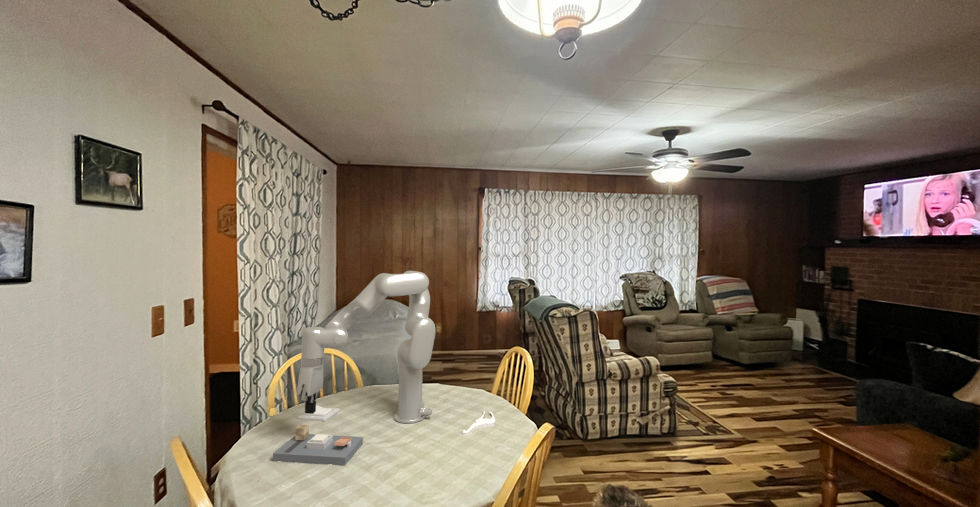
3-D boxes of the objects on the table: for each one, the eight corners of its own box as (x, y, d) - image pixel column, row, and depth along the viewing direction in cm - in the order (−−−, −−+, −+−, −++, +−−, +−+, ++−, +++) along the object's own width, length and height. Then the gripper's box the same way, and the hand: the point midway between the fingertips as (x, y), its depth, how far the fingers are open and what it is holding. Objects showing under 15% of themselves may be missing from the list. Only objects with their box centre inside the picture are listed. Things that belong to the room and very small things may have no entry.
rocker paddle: (351, 442, 134) (351, 436, 135) (343, 447, 129) (344, 441, 129) (342, 442, 135) (342, 436, 135) (334, 446, 129) (334, 440, 129)
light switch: (312, 401, 169) (339, 402, 167) (313, 411, 169) (340, 412, 167) (295, 411, 159) (324, 412, 156) (296, 422, 159) (324, 423, 156)
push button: (328, 441, 134) (328, 434, 134) (322, 447, 130) (322, 440, 130) (317, 441, 135) (317, 434, 135) (311, 446, 131) (311, 439, 131)
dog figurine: (465, 410, 166) (458, 431, 146) (496, 411, 166) (493, 433, 146) (465, 414, 166) (458, 436, 146) (496, 415, 166) (493, 438, 146)
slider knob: (308, 436, 137) (308, 424, 137) (303, 440, 134) (304, 428, 134) (300, 435, 138) (300, 424, 138) (295, 440, 135) (295, 428, 135)
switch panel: (362, 444, 138) (363, 431, 138) (344, 465, 124) (345, 451, 124) (297, 440, 140) (297, 427, 140) (272, 461, 126) (272, 447, 126)
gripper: (313, 356, 150) (311, 404, 150) (290, 366, 135) (288, 420, 135) (332, 357, 150) (330, 405, 149) (311, 368, 135) (309, 421, 134)
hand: (310, 412), depth 142 cm, fingers closed
